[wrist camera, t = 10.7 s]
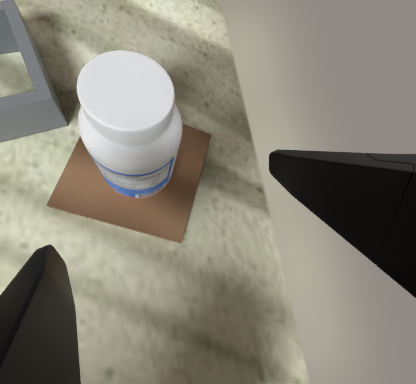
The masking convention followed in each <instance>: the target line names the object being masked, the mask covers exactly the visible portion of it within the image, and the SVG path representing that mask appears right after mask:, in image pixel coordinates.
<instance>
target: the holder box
mask: <svg viewBox="0 0 416 384" xmlns="http://www.w3.org/2000/svg"><path fill="white" fill-rule="evenodd" d="M17 51H20V52H21V54H22V57H23V60H24V62H25V65H26V68H27V70H28V73H29V75H30V78H31V81H32V83H33V86H34V88H35V91H32V92H27V93H22V94H17V95H12V96H7V97H2V98H0V142H4V141H8V140H12V139H16V138H20V137H24V136H28V135H32V134H36V133H40V132H44V131H48V130H52V129H56V128H60V127H64V126H68V124H67V121H66V119H65V116H64V114H63V111H62V108H61V106H60V103H59V101H58V98H57V96H56V93H55V91H54V88H53V86H52V83H51V81H50V78H49V76H48V73H47V71H46V68H45V66H44V63H43V61H42V58H41V56H40V53H39V50H38V48H37V45H36V43H35V41H34V39H33V37H32V35H31V33H30V31H29V29H28V27H27V25H26V23H25V21H24V19H23V17H22V15H21V13H20V11H19V9H18V7H17V5H16V3H15V1H14V0H6V1H0V54H3V53H10V52H17Z"/></svg>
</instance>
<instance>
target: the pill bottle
mask: <svg viewBox="0 0 416 384" xmlns="http://www.w3.org/2000/svg"><path fill="white" fill-rule="evenodd" d="M77 94H78V98H79V101H80V104H81V107H80V111H79V115H78V128H79V133H80V136H81V139H82V141H83V143H84V145H85V147H86V149H87V150H88V152H89V154H90V155H91V157H92V158H93V160H94V162H95V164H96V165H97V167H98V168H99V170H100V172H101V174H102V175H103V177H104V179H105V181H106V182H107V184H108V185H109V186H110V187H111V188H112V189H113V190H114V191H116V192H117V193H119V194H121V195H122V196H125V197H128V198H133V199H143V198H148V197H151V196H153V195H155V194H157V193H159V192H160V191H161V190H162V189H164V187H165V186H166V185H167V184H168V182H169V180H170V178H171V175H172V172H173V168H174V164H175V160H176V156H177V152H178V148H179V145H180V141H181V137H182V129H183V127H182V119H181V115H180V112H179V110H178V108H177V106H176V104H175V102H174V99H175V93H174V86H173V83H172V81H171V78H170V76H169V75H168V74H167V72H166V71H165V70H164V68H163V67H162V66H161V65H159V64H158V63H157V62H156V61H154V60H153V59H151V58H149V57H147V56H145V55H143V54H140V53H137V52H132V51H125V50H116V51H109V52H105V53H102V54H100V55H97V56H95V57H94V58H92V59H91V60H90V61H89V62H87V63H86V65H85V66H84V67H83V68H82V69H81V72H80V74H79V76H78V80H77Z"/></svg>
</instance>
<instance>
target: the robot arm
mask: <svg viewBox="0 0 416 384" xmlns="http://www.w3.org/2000/svg"><path fill="white" fill-rule="evenodd" d="M269 171H270V173H271V174H272V175H273V177H274V178H275V179H277V181H278V182H279V183H280V184H281V185H282V186H283V187H284V188H285V189H286V190H287V191H288V192H289V193H290V194H291V195H292V196H294V197H295V198H296V199H297V200H298V201H299V202H301V203H302V204H303V205H304V206H305V207H307V208H308V209H309V210H310V211H311V212H313V213H314V214H315V215H316V216H317V217H319V218H320V219H321V220H322V221H324V222H325V223H326V224H327V225H328V226H330V227H331V228H332V229H333V230H334V231H336V232H337V233H338V234H339V235H341V236H342V237H343V238H344V239H345V240H347V241H348V242H349V243H350V244H351V245H352V246H354V247H355V248H356V249H357V250H359V251H360V252H361V253H362V254H363V255H365V256H366V257H367V258H368V259H369V260H371V261H372V262H373V263H374V264H377V266H378V267H379V268H380V269H381V270H382V271H384V272H385V273H386V274H387V275H389V276H390V277H391V278H392V279H393V280H395V281H396V282H397V283H398V284H399V285H401V286H402V287H403V288H404V289H405V290H407V291H408V292H409V293H410V294H411V295H413V296H414V297H415V298H416V154H377V153H376V154H375V153H365V154H364V153H350V152H324V151H299V150H276V151H274V152H271V153H270V155H269ZM0 384H81V381H80V367H79V353H78V339H77V325H76V312H75V304H74V299H73V294H72V290H71V285H70V281H69V276H68V271H67V267H66V264H65V262H64V260H63V259H62V258H61V256H60V255H59V254H58V252H57V251H56V249H55V248H54V247H53V246H52V245H47V246H44V247H42V248H39V249H37V250H36V251H35V252H34V253H33V255H32V256H31V257H30V258H29V260H28V261H27V262H26V263H25V265H24V266H23V267H22V268H21V270H20V271H19V272H18V274H17V275H16V276H15V277H14V279H13V280H12V281H11V282H10V284H9V285H8V286H7V288H6V289H5V290H4V291H3V293H2V294H1V295H0Z"/></svg>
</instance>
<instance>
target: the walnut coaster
mask: <svg viewBox="0 0 416 384" xmlns="http://www.w3.org/2000/svg"><path fill="white" fill-rule="evenodd" d="M182 127H183V129H182V137H181V141H180V145H179V148H178V152H177V156H176V160H175V164H174V168H173V172H172V175H171V178H170V180H169V182H168V184H167V185H166V186H165V187H164V189H162V190H161V191H160V192H159V193H157V194H155V195H153V196H151V197H148V198H143V199H133V198H128V197H125V196H122V195H121V194H119V193H117V192H116V191H114V190H113V189H112V188H111V187H110V186H109V185H108V184H107V182H106V181H105V179H104V177H103V175H102V174H101V172H100V170H99V168H98V167H97V165H96V164H95V162H94V160H93V158H92V157H91V155H90V154H89V152H88V150H87V149H86V147H85V145H84V143H83V141H82V139H81V136H80V138H79V140H78V142H77V144H76V146H75V148H74V150H73V152H72V154H71V156H70V158H69V161H68V163H67V165H66V167H65V169H64V171H63V173H62V175H61V177H60V179H59V181H58V183H57V185H56V187H55V189H54V191H53V193H52V195H51V197H50V199H49V201H48V203H47V206H49V207H51V208H55V209H58V210H62V211H66V212H69V213H73V214H76V215H80V216H84V217H87V218H91V219H95V220H98V221H102V222H106V223H109V224H113V225H116V226H120V227H124V228H127V229H131V230H135V231H138V232H142V233H146V234H149V235H153V236H156V237H160V238H164V239H167V240H171V241H175V242H178V243H182V239H183V235H184V232H185V228H186V225H187V221H188V217H189V214H190V210H191V206H192V203H193V199H194V196H195V192H196V188H197V185H198V181H199V177H200V174H201V170H202V167H203V163H204V159H205V156H206V152H207V148H208V145H209V141H210V138H211V135H210V134H208V133H205V132H202V131H199V130H196V129H194V128H191V127H188V126H185V125H182Z"/></svg>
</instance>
